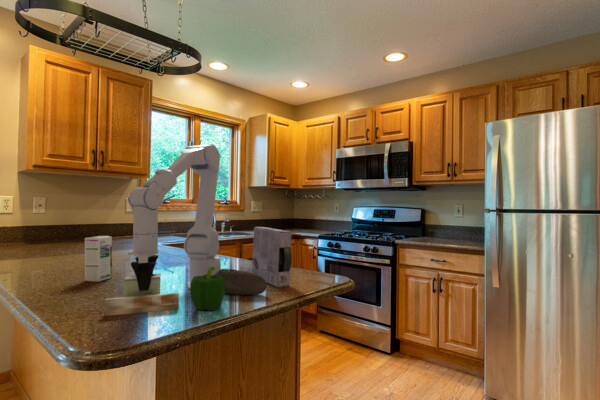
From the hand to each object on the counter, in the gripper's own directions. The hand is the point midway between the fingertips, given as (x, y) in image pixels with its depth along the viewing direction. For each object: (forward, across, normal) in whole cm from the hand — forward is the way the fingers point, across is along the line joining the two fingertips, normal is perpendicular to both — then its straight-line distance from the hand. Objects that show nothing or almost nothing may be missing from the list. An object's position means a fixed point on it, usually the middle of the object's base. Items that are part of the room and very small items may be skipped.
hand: (145, 286), depth 86 cm
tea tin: (+3, 0, 0) cm, 3 cm away
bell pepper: (+5, +9, +15) cm, 18 cm away
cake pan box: (+5, -14, +37) cm, 40 cm away
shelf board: (+4, +1, 0) cm, 5 cm away
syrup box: (+5, -36, -17) cm, 40 cm away
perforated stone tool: (+5, -1, +25) cm, 26 cm away
